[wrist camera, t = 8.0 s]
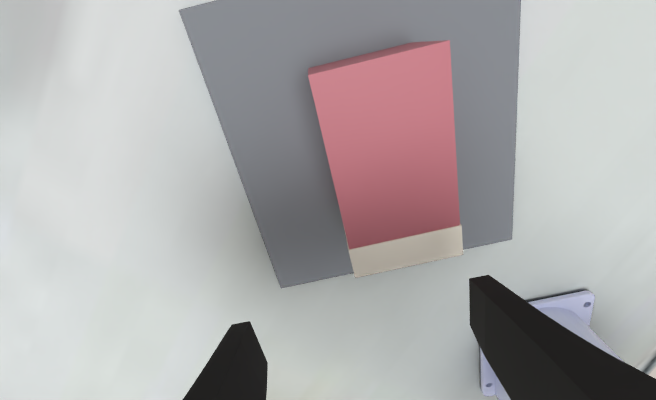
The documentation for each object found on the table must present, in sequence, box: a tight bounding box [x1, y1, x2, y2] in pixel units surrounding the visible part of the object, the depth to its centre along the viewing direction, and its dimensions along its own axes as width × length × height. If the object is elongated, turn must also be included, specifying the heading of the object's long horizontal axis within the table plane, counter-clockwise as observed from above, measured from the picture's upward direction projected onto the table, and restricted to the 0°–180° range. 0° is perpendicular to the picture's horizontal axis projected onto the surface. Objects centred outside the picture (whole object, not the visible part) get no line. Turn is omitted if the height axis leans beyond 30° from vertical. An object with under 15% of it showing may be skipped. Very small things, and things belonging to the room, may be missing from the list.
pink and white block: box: [308, 40, 463, 278], centre depth 15 cm, size 5×9×5 cm, turn 13°
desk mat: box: [179, 0, 521, 288], centre depth 17 cm, size 16×15×1 cm
